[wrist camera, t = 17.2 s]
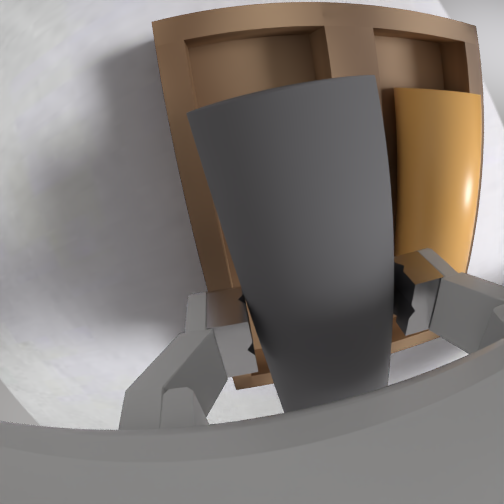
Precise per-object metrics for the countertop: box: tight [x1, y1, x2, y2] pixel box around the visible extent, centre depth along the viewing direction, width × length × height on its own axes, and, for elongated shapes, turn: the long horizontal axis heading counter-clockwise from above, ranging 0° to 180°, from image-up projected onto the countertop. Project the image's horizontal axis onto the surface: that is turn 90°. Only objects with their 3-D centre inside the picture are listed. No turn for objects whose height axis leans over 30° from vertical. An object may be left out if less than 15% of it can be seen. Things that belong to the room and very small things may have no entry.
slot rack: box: [152, 2, 484, 390], centre depth 14 cm, size 14×18×3 cm
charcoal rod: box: [186, 75, 394, 413], centre depth 9 cm, size 11×4×4 cm, turn 14°
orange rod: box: [394, 87, 482, 273], centre depth 13 cm, size 11×4×4 cm, turn 8°
